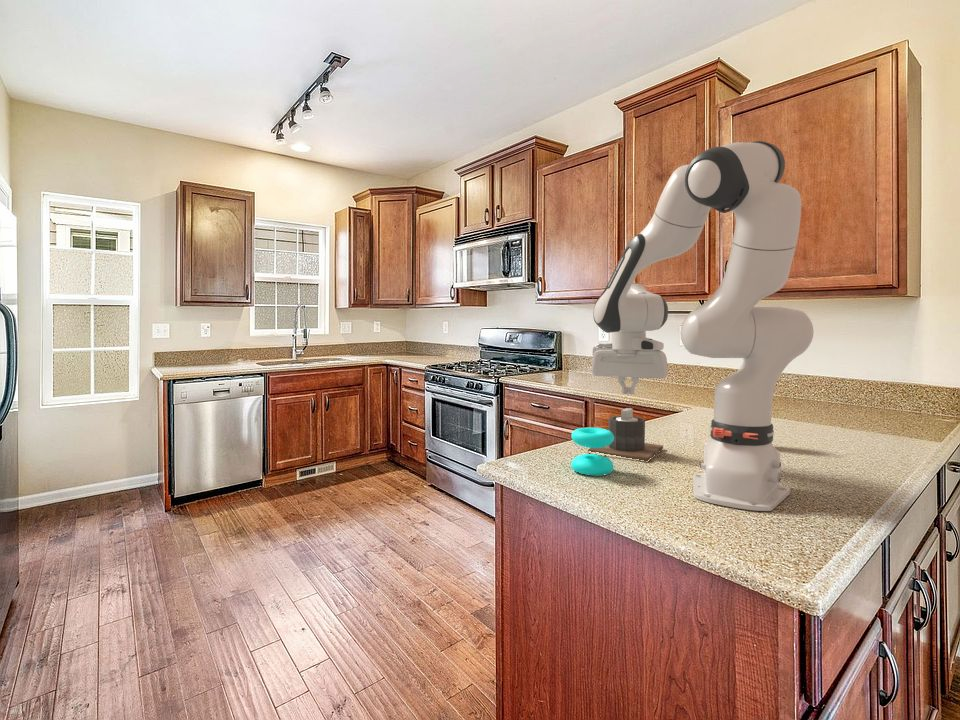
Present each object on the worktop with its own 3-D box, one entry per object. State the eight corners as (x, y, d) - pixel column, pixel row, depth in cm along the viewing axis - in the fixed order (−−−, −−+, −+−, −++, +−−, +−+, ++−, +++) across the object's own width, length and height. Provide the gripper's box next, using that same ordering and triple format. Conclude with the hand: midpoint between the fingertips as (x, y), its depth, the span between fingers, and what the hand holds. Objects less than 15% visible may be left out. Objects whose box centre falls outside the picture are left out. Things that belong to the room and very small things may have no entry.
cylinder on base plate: (647, 462, 127) (648, 427, 127) (588, 453, 136) (588, 420, 136) (663, 449, 141) (663, 417, 140) (608, 442, 150) (608, 411, 149)
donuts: (567, 426, 124) (606, 426, 124) (566, 465, 125) (606, 465, 125) (577, 435, 114) (619, 434, 115) (576, 478, 115) (619, 477, 115)
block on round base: (634, 428, 134) (634, 412, 134) (613, 426, 137) (613, 410, 137) (640, 425, 139) (640, 409, 139) (619, 423, 142) (619, 407, 142)
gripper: (588, 343, 140) (588, 392, 140) (663, 343, 128) (663, 397, 129) (596, 343, 145) (596, 390, 145) (669, 343, 133) (669, 394, 134)
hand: (628, 393), depth 137 cm, fingers closed
